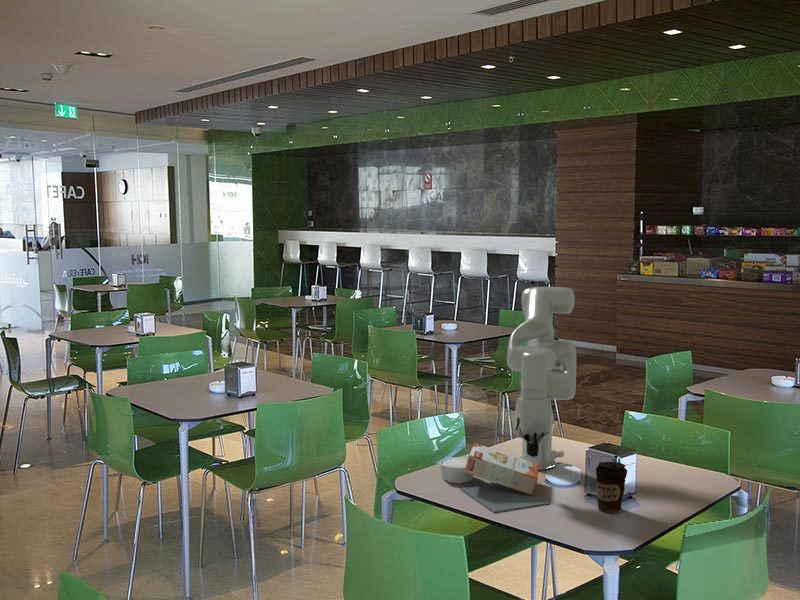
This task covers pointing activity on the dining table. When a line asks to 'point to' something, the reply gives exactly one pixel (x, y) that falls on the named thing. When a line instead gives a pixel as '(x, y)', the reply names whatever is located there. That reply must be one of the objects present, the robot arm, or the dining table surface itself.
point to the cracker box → (502, 468)
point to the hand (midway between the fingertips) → (532, 455)
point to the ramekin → (455, 470)
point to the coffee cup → (610, 486)
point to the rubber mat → (503, 497)
